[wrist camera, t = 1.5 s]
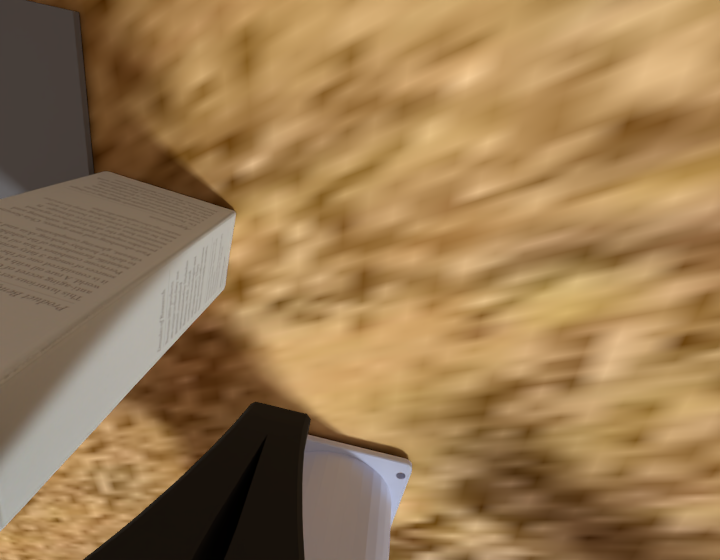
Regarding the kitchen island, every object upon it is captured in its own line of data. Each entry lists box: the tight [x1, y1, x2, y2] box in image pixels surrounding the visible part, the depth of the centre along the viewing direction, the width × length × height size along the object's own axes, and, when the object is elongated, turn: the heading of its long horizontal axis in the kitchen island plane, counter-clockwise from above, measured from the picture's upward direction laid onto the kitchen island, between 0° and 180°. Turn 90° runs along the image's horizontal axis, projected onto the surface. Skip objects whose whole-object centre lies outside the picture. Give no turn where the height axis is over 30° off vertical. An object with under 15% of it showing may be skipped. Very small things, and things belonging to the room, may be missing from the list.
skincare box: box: [0, 171, 236, 531], centre depth 13 cm, size 6×4×12 cm
